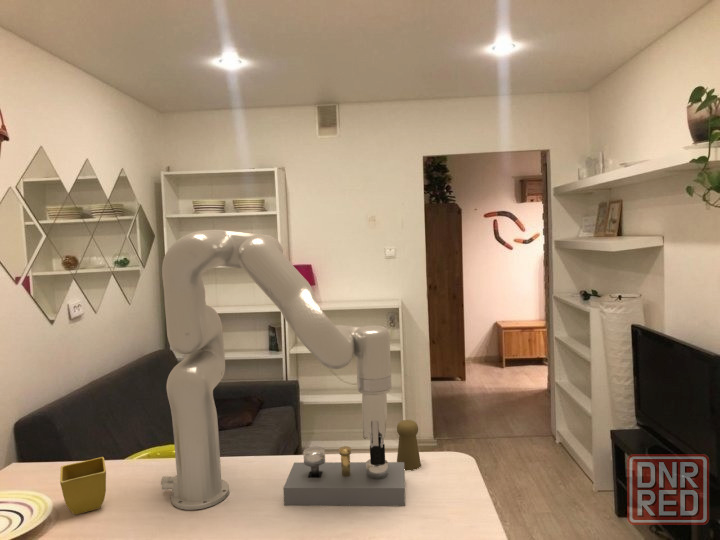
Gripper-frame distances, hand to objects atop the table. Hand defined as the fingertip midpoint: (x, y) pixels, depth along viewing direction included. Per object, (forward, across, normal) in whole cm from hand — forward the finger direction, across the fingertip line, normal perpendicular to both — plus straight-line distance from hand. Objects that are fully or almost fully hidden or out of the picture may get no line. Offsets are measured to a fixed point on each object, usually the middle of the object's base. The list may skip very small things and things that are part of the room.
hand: (378, 462), depth 122 cm
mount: (+7, 0, -7) cm, 10 cm away
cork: (+7, -13, +7) cm, 16 cm away
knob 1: (+3, 0, -14) cm, 15 cm away
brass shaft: (+3, 0, -7) cm, 8 cm away
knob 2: (+6, 0, 0) cm, 6 cm away
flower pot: (+6, +7, -64) cm, 65 cm away
